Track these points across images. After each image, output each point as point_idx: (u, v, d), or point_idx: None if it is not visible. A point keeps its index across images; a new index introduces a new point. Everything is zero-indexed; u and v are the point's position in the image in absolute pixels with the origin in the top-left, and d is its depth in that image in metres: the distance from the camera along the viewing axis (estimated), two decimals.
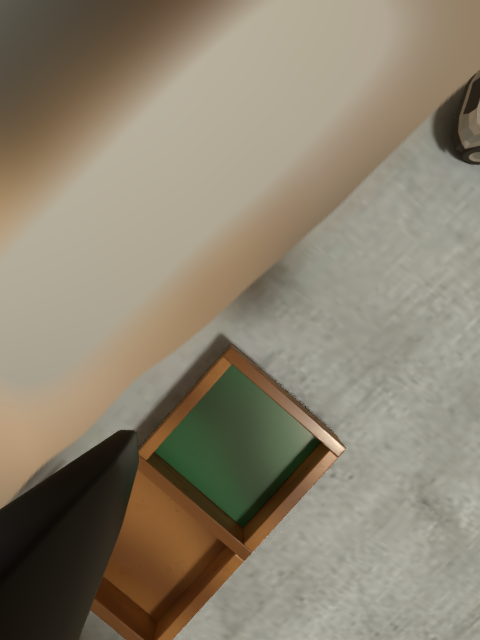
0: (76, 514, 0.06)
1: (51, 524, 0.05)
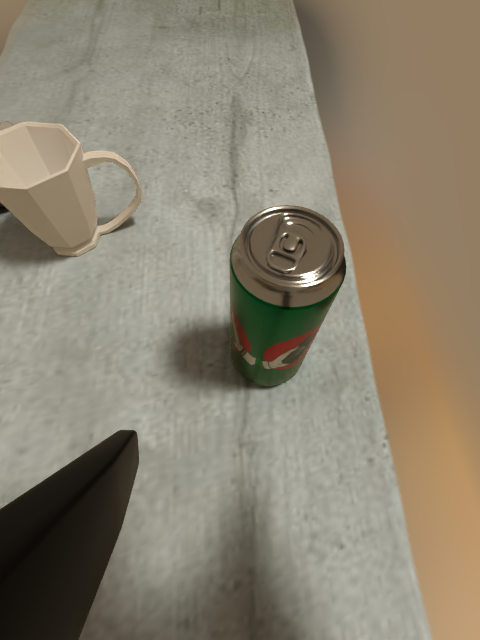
0: (76, 514, 0.06)
1: (51, 524, 0.05)
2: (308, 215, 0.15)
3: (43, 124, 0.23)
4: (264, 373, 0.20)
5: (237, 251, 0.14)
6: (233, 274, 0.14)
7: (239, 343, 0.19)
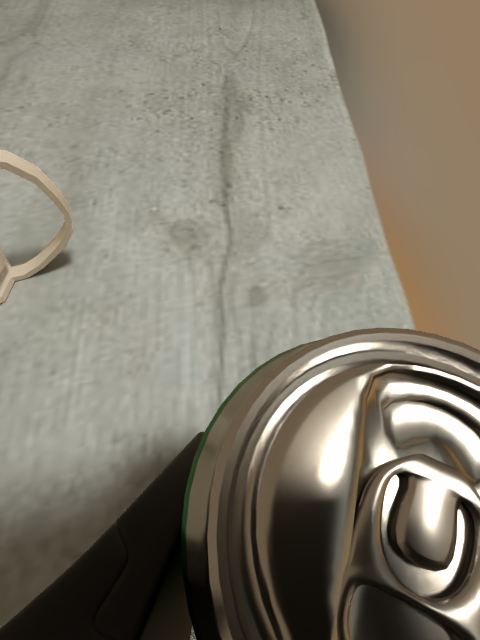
0: None
1: None
2: (459, 364, 0.04)
3: None
4: None
5: (205, 528, 0.04)
6: (190, 613, 0.04)
7: None
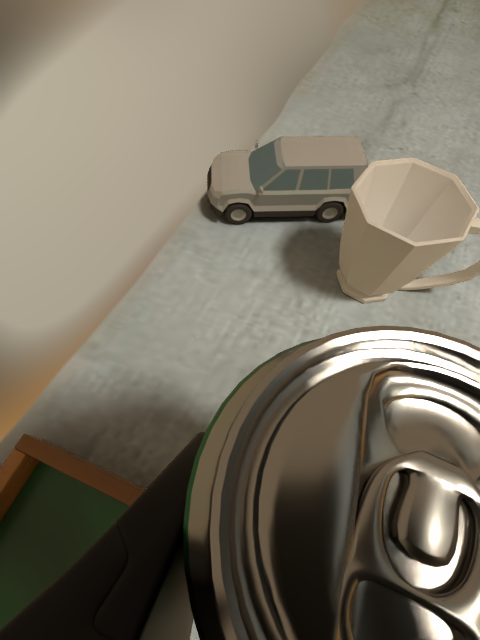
0: None
1: (181, 527, 0.05)
2: (460, 362, 0.04)
3: (435, 168, 0.20)
4: None
5: (207, 524, 0.04)
6: (192, 608, 0.04)
7: None
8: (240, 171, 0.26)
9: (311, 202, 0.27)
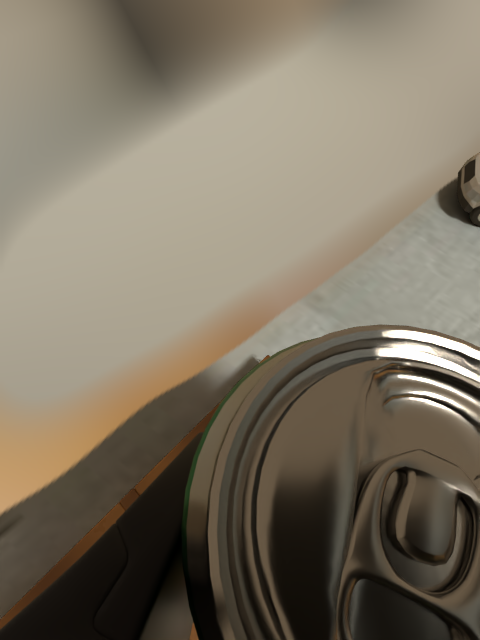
0: None
1: None
2: (458, 361, 0.04)
3: None
4: None
5: (205, 523, 0.04)
6: (191, 607, 0.04)
7: None
8: None
9: None
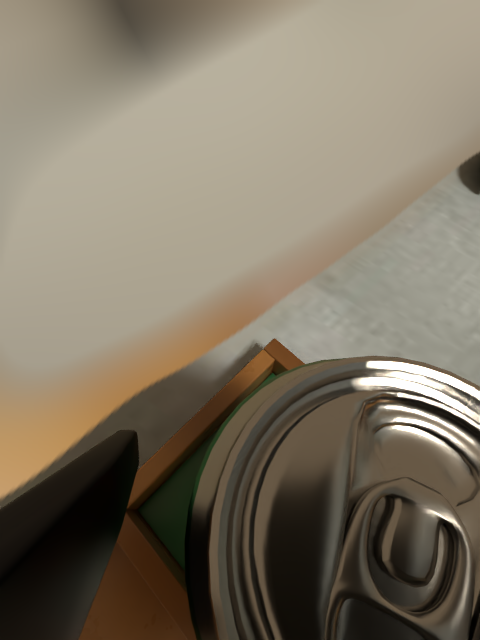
0: (76, 514, 0.06)
1: (51, 524, 0.05)
2: (445, 391, 0.04)
3: None
4: None
5: (206, 541, 0.04)
6: (192, 619, 0.04)
7: None
8: None
9: None
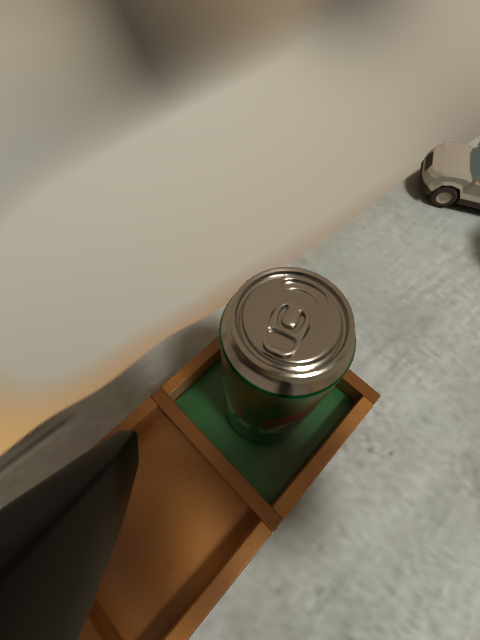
0: (76, 514, 0.06)
1: (51, 524, 0.05)
2: (312, 279, 0.13)
3: None
4: (260, 436, 0.18)
5: (228, 323, 0.12)
6: (223, 350, 0.12)
7: (232, 407, 0.17)
8: (461, 160, 0.30)
9: None
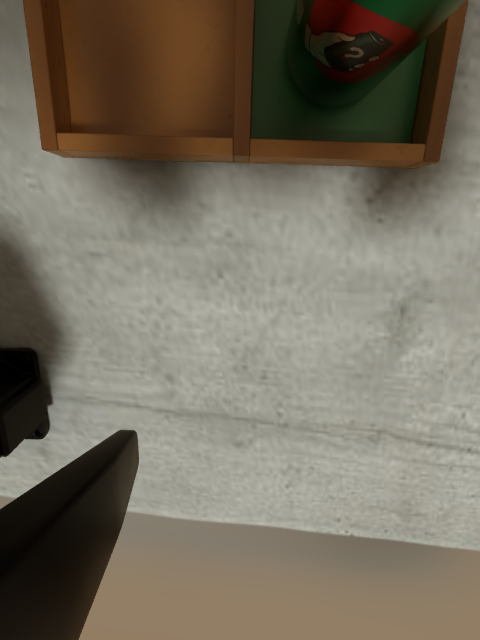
0: (76, 514, 0.06)
1: (51, 524, 0.05)
2: None
3: None
4: (301, 55, 0.14)
5: None
6: None
7: None
8: None
9: None
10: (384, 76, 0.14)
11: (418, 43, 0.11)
